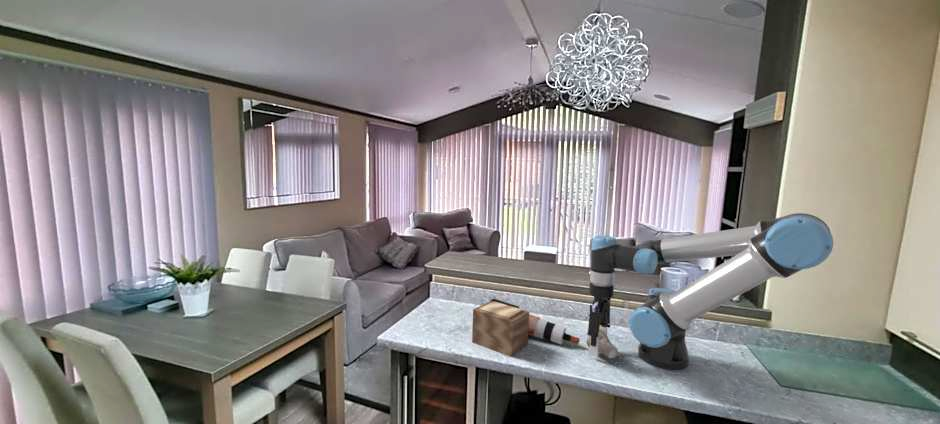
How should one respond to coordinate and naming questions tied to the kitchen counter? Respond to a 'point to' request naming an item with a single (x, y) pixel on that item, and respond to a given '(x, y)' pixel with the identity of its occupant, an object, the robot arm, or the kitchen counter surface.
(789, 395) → the kitchen counter surface
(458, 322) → the kitchen counter surface
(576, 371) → the kitchen counter surface
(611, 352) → the mug
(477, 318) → the plate
